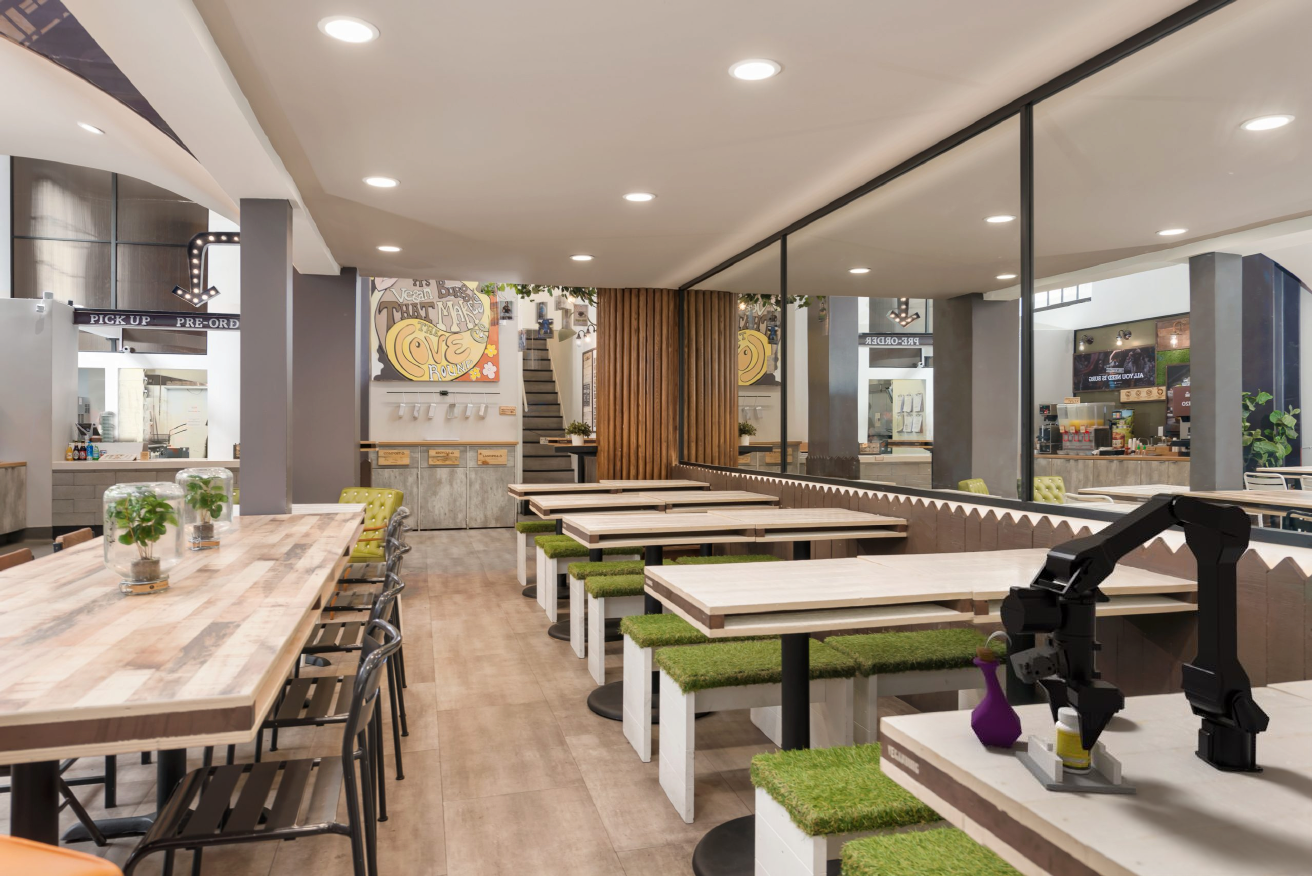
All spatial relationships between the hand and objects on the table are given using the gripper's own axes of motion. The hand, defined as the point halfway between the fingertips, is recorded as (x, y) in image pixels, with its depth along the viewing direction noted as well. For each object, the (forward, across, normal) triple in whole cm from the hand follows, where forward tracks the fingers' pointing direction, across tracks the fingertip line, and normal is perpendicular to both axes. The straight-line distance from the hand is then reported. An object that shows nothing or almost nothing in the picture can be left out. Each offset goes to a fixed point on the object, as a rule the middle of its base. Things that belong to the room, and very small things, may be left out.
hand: (1072, 738), depth 119 cm
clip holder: (+5, 0, 0) cm, 5 cm away
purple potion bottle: (+6, -12, -7) cm, 15 cm away
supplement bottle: (+5, 0, 0) cm, 5 cm away
